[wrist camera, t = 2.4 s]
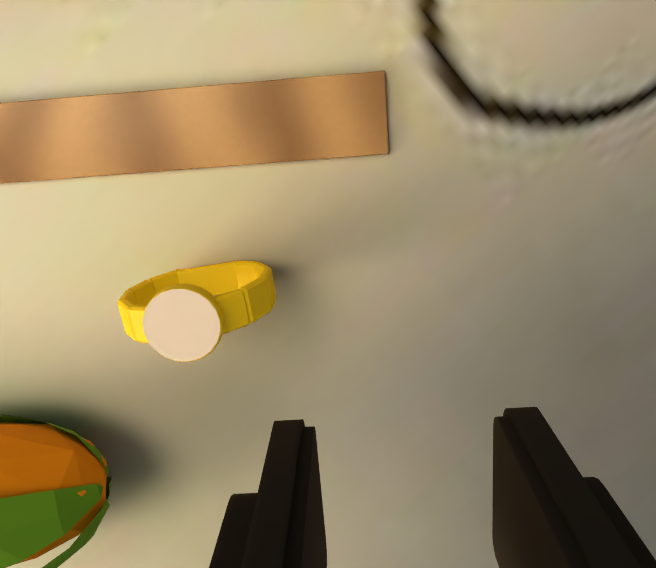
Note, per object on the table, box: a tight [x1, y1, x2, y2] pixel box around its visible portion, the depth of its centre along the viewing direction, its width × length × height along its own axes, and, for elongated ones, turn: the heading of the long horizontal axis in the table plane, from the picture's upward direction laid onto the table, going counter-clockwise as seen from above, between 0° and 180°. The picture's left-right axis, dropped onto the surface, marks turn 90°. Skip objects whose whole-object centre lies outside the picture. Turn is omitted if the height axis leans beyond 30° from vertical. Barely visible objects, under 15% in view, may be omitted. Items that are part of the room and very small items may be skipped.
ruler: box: [0, 71, 389, 183], centre depth 24 cm, size 30×3×1 cm, turn 94°
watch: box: [118, 260, 277, 362], centre depth 23 cm, size 6×3×6 cm, turn 99°
